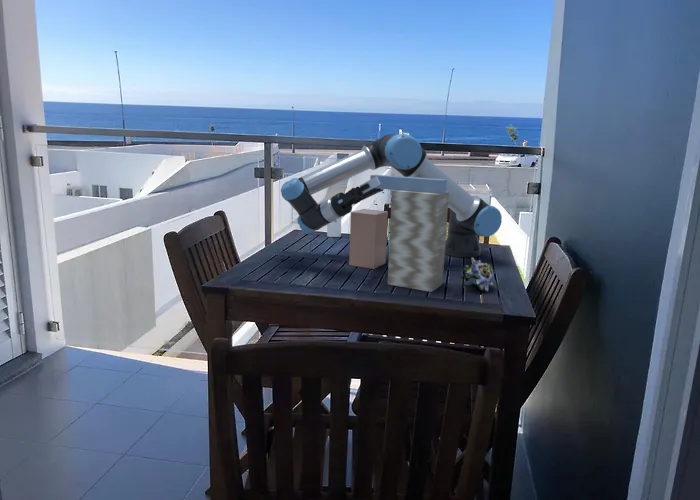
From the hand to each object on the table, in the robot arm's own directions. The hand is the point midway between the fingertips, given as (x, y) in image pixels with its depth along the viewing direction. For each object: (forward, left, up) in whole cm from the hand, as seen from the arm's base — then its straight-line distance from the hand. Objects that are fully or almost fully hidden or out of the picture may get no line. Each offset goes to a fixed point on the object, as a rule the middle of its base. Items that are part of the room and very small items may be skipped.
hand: (387, 178), depth 167 cm
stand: (-10, +5, -33) cm, 35 cm away
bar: (-6, +3, -3) cm, 7 cm away
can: (+23, -69, -33) cm, 80 cm away
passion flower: (-29, +6, -33) cm, 45 cm away
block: (+6, -19, -33) cm, 39 cm away
